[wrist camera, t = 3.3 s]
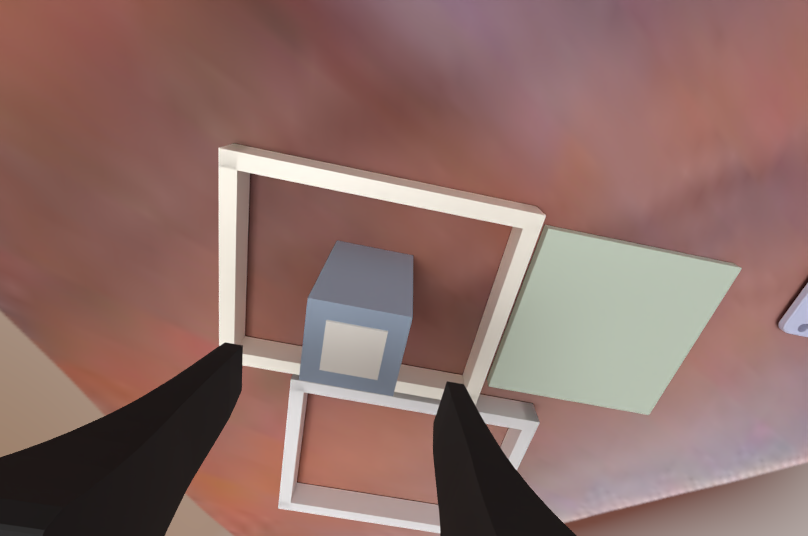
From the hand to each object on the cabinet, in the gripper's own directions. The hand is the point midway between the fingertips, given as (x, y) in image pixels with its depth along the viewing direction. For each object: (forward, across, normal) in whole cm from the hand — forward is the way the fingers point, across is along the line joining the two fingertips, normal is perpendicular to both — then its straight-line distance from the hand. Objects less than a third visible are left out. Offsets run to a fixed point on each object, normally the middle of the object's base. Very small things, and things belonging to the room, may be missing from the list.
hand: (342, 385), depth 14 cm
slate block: (+8, 0, 0) cm, 8 cm away
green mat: (+8, -13, 0) cm, 15 cm away
